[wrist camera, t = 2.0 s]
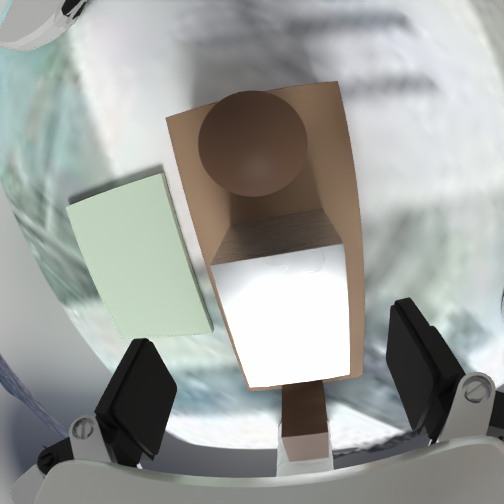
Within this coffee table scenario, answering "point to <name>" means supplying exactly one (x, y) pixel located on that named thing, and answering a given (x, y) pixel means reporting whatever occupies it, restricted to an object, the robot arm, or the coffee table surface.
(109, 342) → the coffee table surface
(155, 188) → the mat
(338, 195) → the plane body
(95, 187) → the coffee table surface
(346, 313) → the grey rectangular block
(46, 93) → the coffee table surface
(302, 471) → the water bottle
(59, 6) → the toy panda
